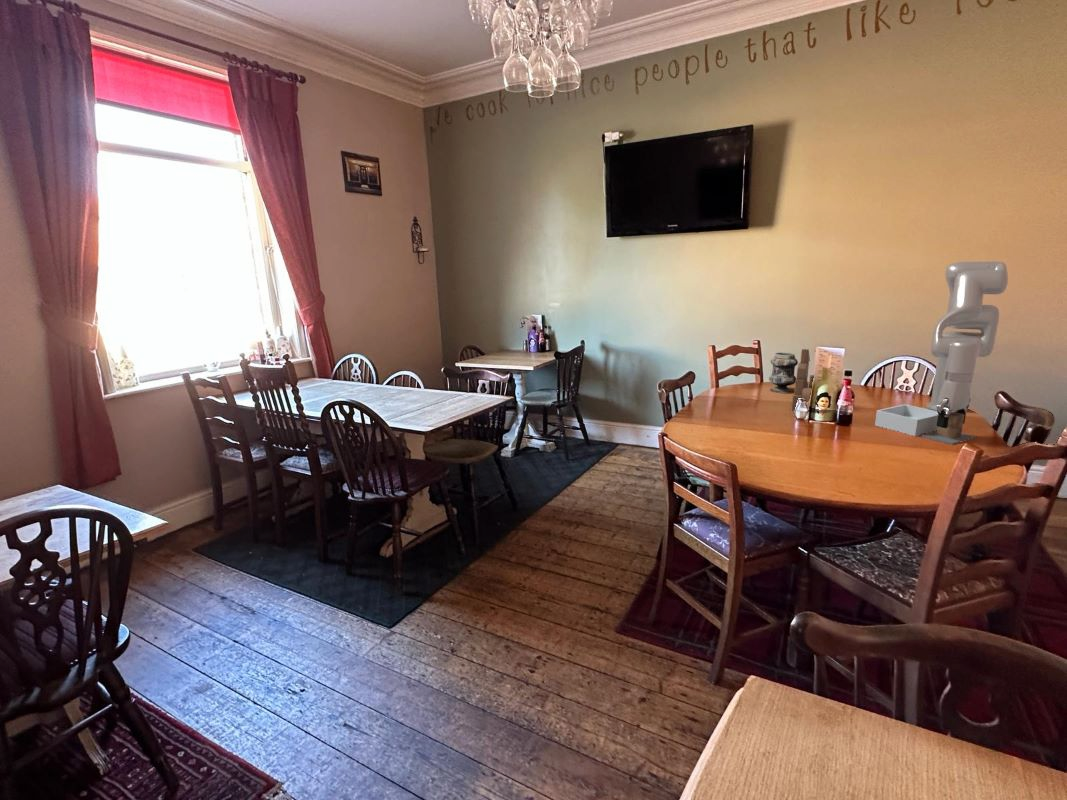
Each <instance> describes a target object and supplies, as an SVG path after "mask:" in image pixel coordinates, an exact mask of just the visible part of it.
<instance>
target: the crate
mask: <svg viewBox="0 0 1067 800" xmlns="http://www.w3.org/2000/svg"><path fill="white" fill-rule="evenodd" d="M937 414H938V413H937V410H932V409H929V408H926V407H925V408H924V407H920V406H916V405H915V406H914V405H912V404H908V403H907V404H905V403H904V404H899V405H895V406H891V407H885V408H881V409H878V410H876V414H875V421H874V422H875V423H874V426H876V427H878V426H879V427H878V428H882V427H883V429H886V428H887V429H886V430H890V429H891V430H890V431H893V430H895V431H894V432H897V431H899V432H898V433H901V432H902V434H905V433H906V434H905V435H908V434H909V436H912V435H913V436H912V437H918V436H921V434H922V435H923V434H924V433H926V434H927V433H928V432H930V433H931V432H933V431H934V432H935V431H936V430H937V428H938V427H937V426H936V425H937V419H938V415H937Z"/></svg>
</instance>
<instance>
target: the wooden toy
mask: <svg viewBox="0 0 1067 800" xmlns="http://www.w3.org/2000/svg"><path fill="white" fill-rule="evenodd" d="M810 361H811V358H810V351H809V349H805V348H803V349H801V353H800V362H798V364H797V370H796V382H795V383H794V394H793V395H792V404H791V411H794V410H795V407H796V403H797V400H798V398H804V399H805V400H806V401H809V399H810V395H811V390H812V382H813V378H814V375H815V374H811V375H809V367H810V366H809V365H810ZM808 376H809V382H808ZM794 412H795V411H794Z"/></svg>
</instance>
